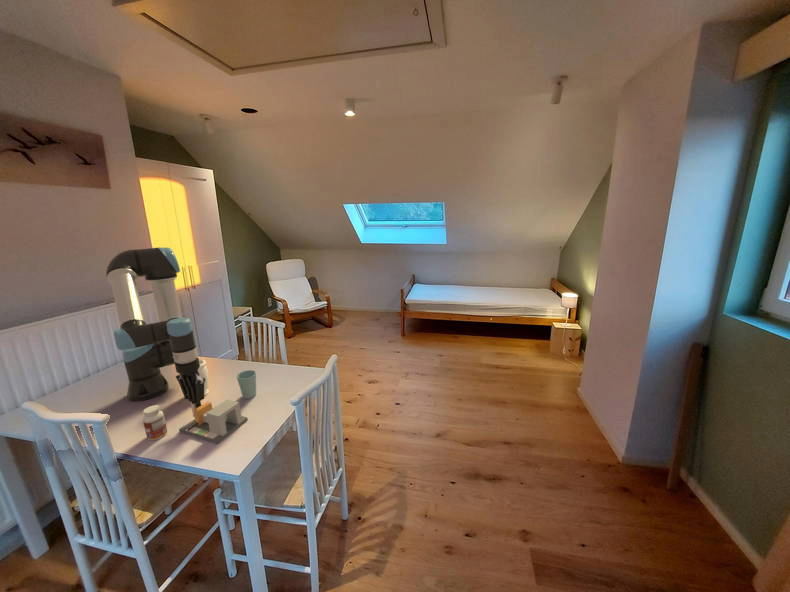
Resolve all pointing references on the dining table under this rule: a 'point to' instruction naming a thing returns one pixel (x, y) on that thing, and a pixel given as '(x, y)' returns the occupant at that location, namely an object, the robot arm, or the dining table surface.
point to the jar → (204, 375)
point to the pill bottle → (154, 423)
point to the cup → (247, 383)
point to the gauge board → (206, 427)
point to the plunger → (201, 414)
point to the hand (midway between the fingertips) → (198, 415)
